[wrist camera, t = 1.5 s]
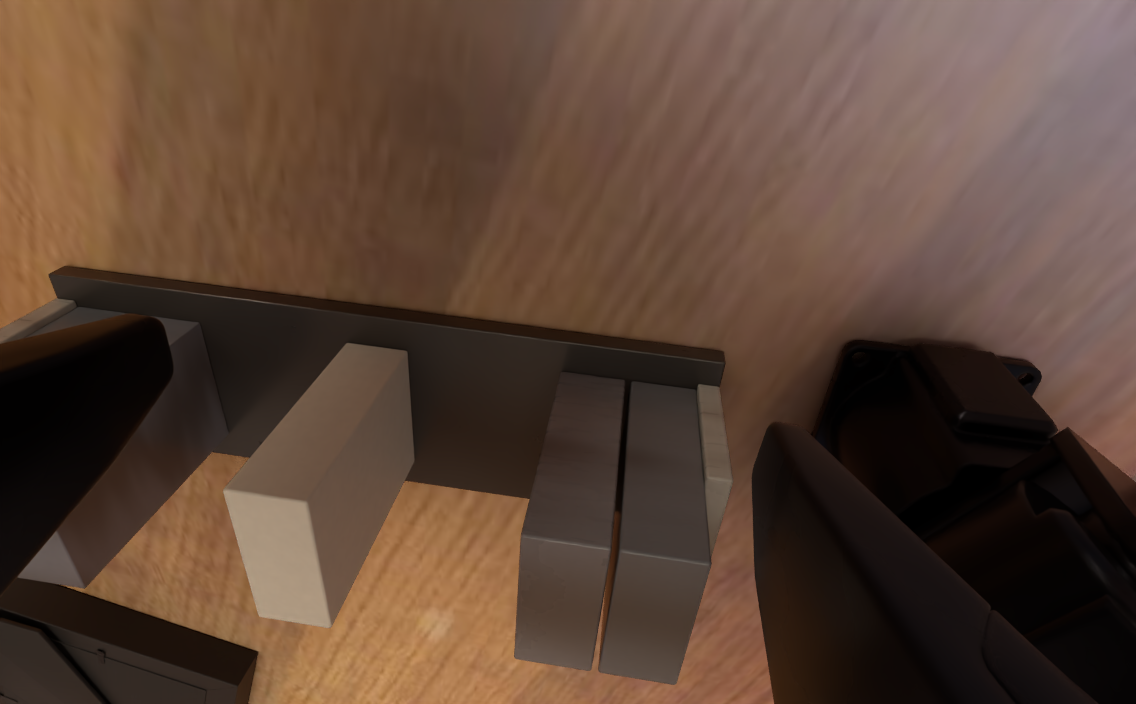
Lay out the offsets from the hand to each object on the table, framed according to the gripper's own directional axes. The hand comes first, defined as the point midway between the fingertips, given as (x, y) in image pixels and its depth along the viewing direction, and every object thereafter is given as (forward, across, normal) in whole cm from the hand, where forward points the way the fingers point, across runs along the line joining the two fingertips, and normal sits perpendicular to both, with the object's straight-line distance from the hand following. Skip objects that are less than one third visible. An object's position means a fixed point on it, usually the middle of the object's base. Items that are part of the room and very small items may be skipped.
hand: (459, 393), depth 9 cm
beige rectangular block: (+12, +6, +10) cm, 17 cm away
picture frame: (+13, +25, +39) cm, 48 cm away
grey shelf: (+13, +6, +10) cm, 18 cm away
